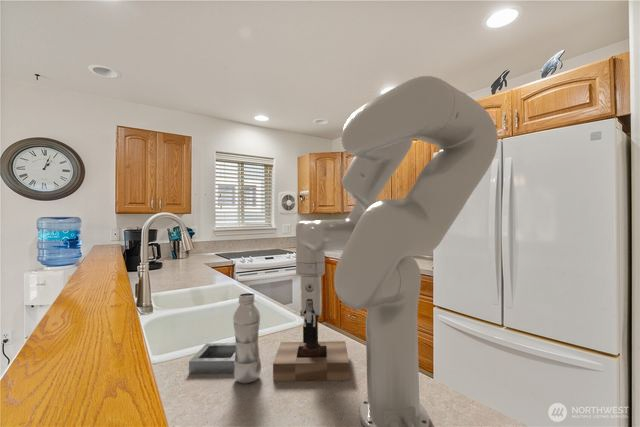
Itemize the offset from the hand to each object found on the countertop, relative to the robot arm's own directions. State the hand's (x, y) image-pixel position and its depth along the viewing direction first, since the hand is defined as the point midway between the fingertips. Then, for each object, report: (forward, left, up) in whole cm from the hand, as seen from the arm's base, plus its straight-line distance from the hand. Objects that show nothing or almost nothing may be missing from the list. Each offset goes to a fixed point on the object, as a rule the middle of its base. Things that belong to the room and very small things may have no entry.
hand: (310, 334), depth 72 cm
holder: (+3, +25, -8) cm, 26 cm away
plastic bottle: (-6, +15, -8) cm, 18 cm away
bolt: (0, 0, -8) cm, 8 cm away
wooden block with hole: (0, 0, -8) cm, 8 cm away
